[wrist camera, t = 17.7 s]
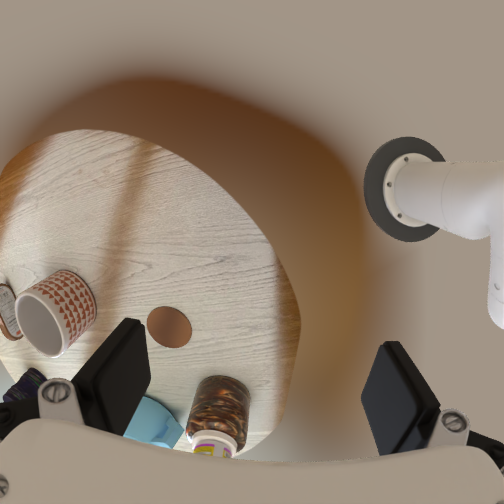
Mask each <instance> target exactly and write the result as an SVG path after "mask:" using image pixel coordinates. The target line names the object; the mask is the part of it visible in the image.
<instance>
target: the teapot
mask: <svg viewBox="0 0 504 504" xmlns="http://www.w3.org/2000/svg"><path fill="white" fill-rule="evenodd" d="M183 432H184V429H183V428H182V427H181V426H180V425H179V424H178V423H177V422H176V421H175V419H174V417H173V416H172V415H171V413H170V412H169V411H168V410H167V409H166V408H165V407H164V406H163V405H161V404H160V403H158V402H156V401H155V400H153V399H150V398H148V397H145V396H143V398H142V400H141V401H140V403H139V405H138V407H137V409H136V411H135V413H134V415H133V417H132V419H131V421H130V423H129V425H128V427H127V429H126V431H125V433H124V435H123V437H126V438H129V439H133V440H136V441H140V442H144V443H148V444H152V445H156V446H161V447H165V448H169V449H173V447H174V446H175V444H176V442H177V441H178V439H179V438H180V436H181V435H182V433H183Z"/></svg>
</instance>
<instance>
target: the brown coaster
mask: <svg viewBox="0 0 504 504" xmlns="http://www.w3.org/2000/svg"><path fill="white" fill-rule="evenodd" d="M147 328H148V331H149V333H150V335H151V336H152V338H153V339H154V340H155V341H156V342H158V343H159V344H161V345H163V346H165V347H168V348H179V347H182V346H184V345H186V344H187V343H188V342H189V340H190V338H191V335H192V328H191V324H190V322H189V320H188V319H187V317H186V316H185V315H184V314H183V313H181V312H180V311H179V310H177V309H175V308H172V307H158V308H156V309H154V310H153V311H152V312H151V313H150V314H149V316H148V318H147Z"/></svg>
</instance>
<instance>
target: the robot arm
mask: <svg viewBox="0 0 504 504" xmlns="http://www.w3.org/2000/svg"><path fill="white" fill-rule="evenodd" d="M404 158H405V161H404ZM387 183H388V186H387ZM383 196H384V201H385V203H386V206H387V208H388V210H389V212H390V213H391V214H392V216H393V217H394V218H395V219H396V220H398V221H399V222H401V223H403V224H405V225H407V226H412V227H420V226H423V225H426V224H427V223H428V224H431V225H433V226H436V227H438V228H441V229H444V230H446V231H449V232H451V233H454V234H457V235H459V236H461V237H464V238H467V239H471V240H478V239H482V238H485V237H487V236H489V235H491V261H490V276H489V288H488V311H489V314H490V317H491V319H492V320H493V321H494V323H495V324H496V325H498V326H499V327H500V328H502V329H504V160H501V161H493V162H433V161H432V160H431V159H429V158H428V157H426V156H424V155H421V154H417V153H409V154H404V155H402V156H399V157H398V158H396V159H395V160H394V161H393V162H392V163H391V164H390V166H389V167H388V169H387V171H386V174H385V177H384V181H383ZM398 214H399V216H398ZM150 380H151V373H150V367H149V359H148V352H147V344H146V335H145V326H144V325H143V324H141V322H140V320H137V319H132V318H125V319H124V320H123V321H122V322H121V323H120V324H119V325H118V326H117V327H116V329H115V330H114V331H113V332H112V333H111V334H110V335H109V337H108V338H107V339H106V340H105V341H104V342H103V343H102V345H101V346H100V347H99V348H98V349H97V350H96V351H95V353H94V354H93V355H92V356H91V357H90V359H89V360H88V361H87V362H86V363H85V364H84V366H83V367H82V368H81V369H80V370H79V372H78V373H77V374H76V375H75V376H74V378H73V379H72V380H71V381H68V380H66V379H63V378H52V379H49V380H47V381H45V382H44V383H43V384H41V385H40V387H39V389H38V396H36V397H31V398H25V399H20V400H15V401H9V402H3V403H0V504H504V444H503V443H501V442H499V441H497V440H494V439H491V438H488V437H486V436H483V435H481V434H478V433H476V432H473V431H470V421H469V419H468V417H467V416H466V415H465V414H464V413H463V412H461V411H459V410H456V409H445V410H443V411H442V412H441V411H440V409H439V407H440V403H439V402H438V400H437V398H436V397H435V395H434V393H433V392H432V390H431V389H430V387H429V386H428V384H427V382H426V381H425V379H424V378H423V376H422V375H421V373H420V372H419V370H418V369H417V367H416V366H415V364H414V363H413V361H412V360H411V358H410V357H409V355H408V354H407V352H406V351H405V349H404V348H403V346H402V345H401V344H400V342H398V341H386V342H384V343H383V345H380V347H379V349H378V352H377V355H376V358H375V360H374V363H373V366H372V369H371V371H370V374H369V377H368V379H367V382H366V384H365V387H364V389H363V392H362V394H361V401H362V404H363V407H364V410H365V413H366V416H367V419H368V421H369V424H370V427H371V430H372V433H373V436H374V439H375V442H376V445H377V448H378V452H379V455H380V456H376V457H368V458H360V459H351V460H338V461H321V462H271V461H254V460H242V459H232V458H223V457H215V456H208V455H202V454H195V453H190V452H184V451H179V450H174V449H169V448H165V447H161V446H156V445H152V444H148V443H144V442H140V441H136V440H133V439H129V438H126V437H123V435H124V433H125V431H126V429H127V427H128V425H129V423H130V421H131V419H132V417H133V415H134V413H135V411H136V409H137V407H138V405H139V403H140V401H141V400H142V398H143V396H144V394H145V392H146V390H147V388H148V386H149V384H150Z"/></svg>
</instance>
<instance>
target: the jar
mask: <svg viewBox="0 0 504 504" xmlns="http://www.w3.org/2000/svg"><path fill="white" fill-rule="evenodd" d="M249 409H250V394H249V391H248V390H247V388H246V387H245V386H244V385H243V384H242V383H240V382H239V381H237V380H235V379H233V378H230V377H226V376H212V377H208V378H206V379H204V380H203V381H202V382H201V383H200V384H199V386H198V388H197V391H196V394H195V398H194V401H193V404H192V407H191V411H190V414H189V418H188V421H187V426H186V436H187V439H188V440H189V442H190V443H191V446H192V448H193V450H194V448H195V445H196V444H197V443H198V442H201V441H204V440H213V441H218V442H221V443H223V444H225V445H227V446H228V447H229V448H230V449H231V452H232V457H233V456H234V455H235V454H236V453H237V452H239V451H240V450H242V449H243V447H244V446H245V443H246V439H247V431H248V421H249ZM232 457H231V458H232Z"/></svg>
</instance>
